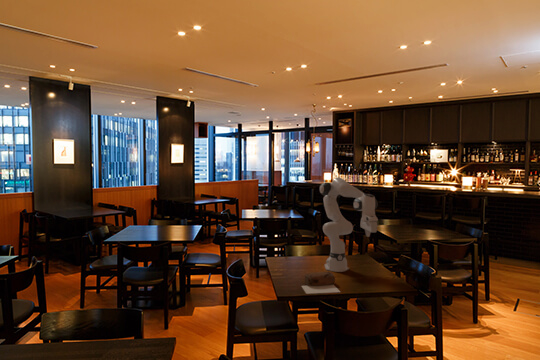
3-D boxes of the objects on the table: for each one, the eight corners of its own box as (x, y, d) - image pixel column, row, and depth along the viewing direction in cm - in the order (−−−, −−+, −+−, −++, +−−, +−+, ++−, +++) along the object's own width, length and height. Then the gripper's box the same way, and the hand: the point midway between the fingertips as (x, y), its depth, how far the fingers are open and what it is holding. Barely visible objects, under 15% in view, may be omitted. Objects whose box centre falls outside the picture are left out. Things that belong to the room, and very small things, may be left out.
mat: (301, 286, 240) (301, 285, 240) (333, 284, 243) (333, 284, 243) (306, 293, 225) (306, 293, 225) (340, 292, 229) (340, 291, 229)
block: (328, 280, 252) (303, 283, 247) (328, 270, 252) (303, 272, 247) (335, 285, 242) (309, 288, 236) (335, 274, 242) (309, 277, 236)
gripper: (358, 214, 255) (357, 233, 256) (370, 219, 235) (369, 239, 235) (366, 214, 256) (366, 233, 256) (379, 219, 236) (378, 239, 236)
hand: (367, 236), depth 246 cm, fingers closed
